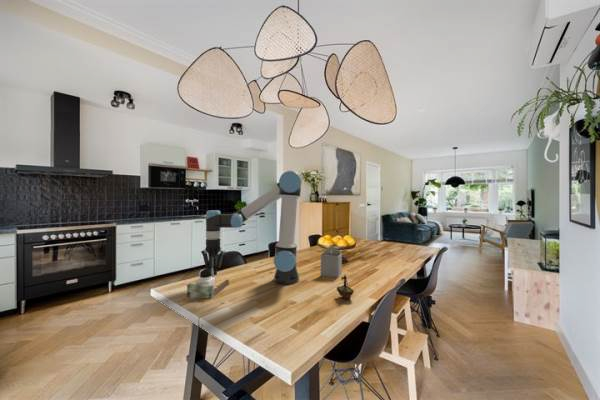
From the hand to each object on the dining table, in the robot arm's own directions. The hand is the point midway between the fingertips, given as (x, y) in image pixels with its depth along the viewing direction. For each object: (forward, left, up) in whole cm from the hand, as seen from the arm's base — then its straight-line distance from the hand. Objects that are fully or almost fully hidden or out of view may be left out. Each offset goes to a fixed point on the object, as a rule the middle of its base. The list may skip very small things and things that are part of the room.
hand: (213, 280), depth 132 cm
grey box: (-67, -31, -4) cm, 74 cm away
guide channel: (0, +4, -4) cm, 5 cm away
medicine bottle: (+1, +7, -4) cm, 8 cm away
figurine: (-72, +3, -4) cm, 72 cm away
